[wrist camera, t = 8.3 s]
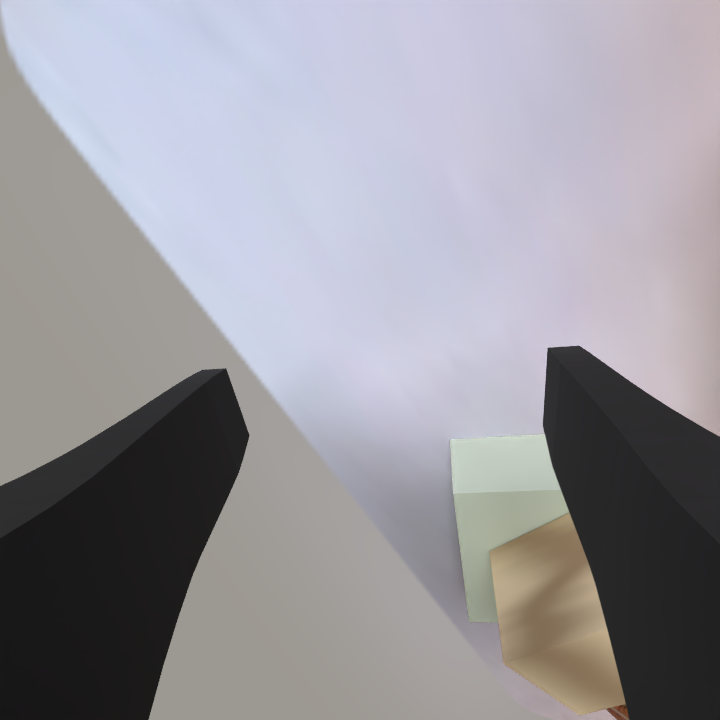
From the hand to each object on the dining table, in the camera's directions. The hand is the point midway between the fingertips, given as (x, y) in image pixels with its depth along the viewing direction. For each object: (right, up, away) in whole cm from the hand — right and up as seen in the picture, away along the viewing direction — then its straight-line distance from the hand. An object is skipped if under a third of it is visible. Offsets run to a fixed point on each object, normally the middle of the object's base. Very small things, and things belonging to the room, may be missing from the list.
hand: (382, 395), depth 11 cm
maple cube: (+9, -8, +11) cm, 17 cm away
